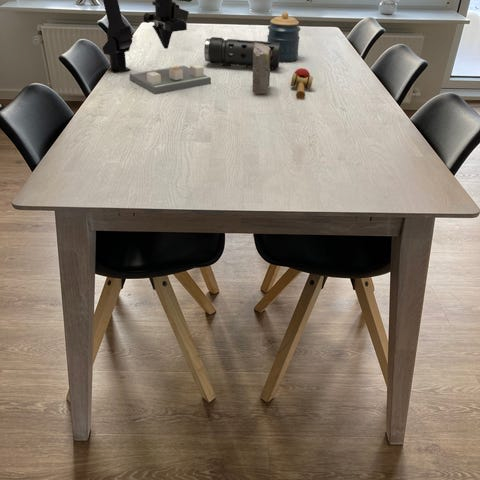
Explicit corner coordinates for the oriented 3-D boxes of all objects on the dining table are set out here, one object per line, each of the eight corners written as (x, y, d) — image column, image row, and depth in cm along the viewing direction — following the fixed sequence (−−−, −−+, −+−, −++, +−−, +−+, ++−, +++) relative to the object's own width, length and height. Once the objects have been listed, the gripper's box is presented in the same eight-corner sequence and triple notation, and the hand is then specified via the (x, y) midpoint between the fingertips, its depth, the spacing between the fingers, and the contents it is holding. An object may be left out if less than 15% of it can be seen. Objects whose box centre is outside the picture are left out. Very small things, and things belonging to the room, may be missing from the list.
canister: (298, 63, 208) (303, 15, 198) (266, 62, 207) (269, 14, 198) (296, 54, 218) (300, 9, 209) (265, 53, 218) (268, 8, 208)
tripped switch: (169, 77, 179) (168, 67, 177) (176, 75, 180) (176, 66, 178) (175, 80, 176) (175, 70, 174) (182, 78, 178) (182, 69, 176)
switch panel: (129, 79, 182) (128, 65, 179) (183, 70, 194) (183, 56, 191) (155, 94, 170) (154, 78, 168) (210, 83, 182) (210, 69, 179)
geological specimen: (267, 96, 172) (270, 49, 164) (249, 94, 173) (251, 48, 165) (270, 86, 181) (272, 41, 173) (252, 85, 182) (254, 40, 173)
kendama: (313, 104, 172) (313, 80, 185) (312, 86, 168) (312, 63, 181) (290, 106, 173) (291, 82, 187) (288, 88, 169) (290, 65, 183)
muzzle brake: (277, 73, 195) (279, 45, 189) (203, 68, 198) (203, 39, 192) (279, 66, 203) (281, 39, 197) (208, 61, 206) (208, 34, 200)
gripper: (200, 1, 167) (200, 51, 175) (170, -8, 179) (172, 40, 187) (170, 3, 161) (172, 55, 170) (141, -6, 173) (144, 43, 182)
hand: (165, 48), depth 177 cm, fingers closed
